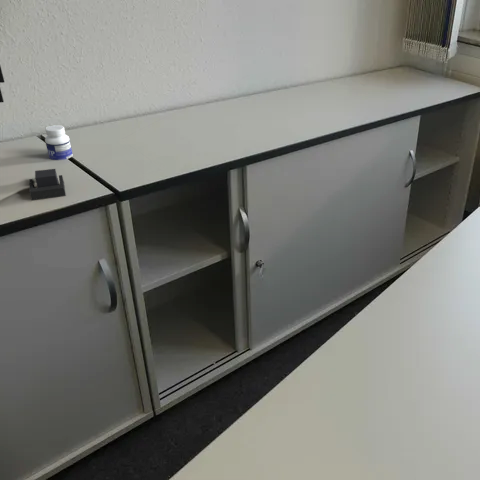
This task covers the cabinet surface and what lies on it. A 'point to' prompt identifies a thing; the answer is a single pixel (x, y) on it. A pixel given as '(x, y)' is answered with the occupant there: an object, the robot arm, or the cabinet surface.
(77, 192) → the cabinet surface
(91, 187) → the cabinet surface
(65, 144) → the pill bottle
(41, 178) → the pad block
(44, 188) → the dark grey u-shaped piece
